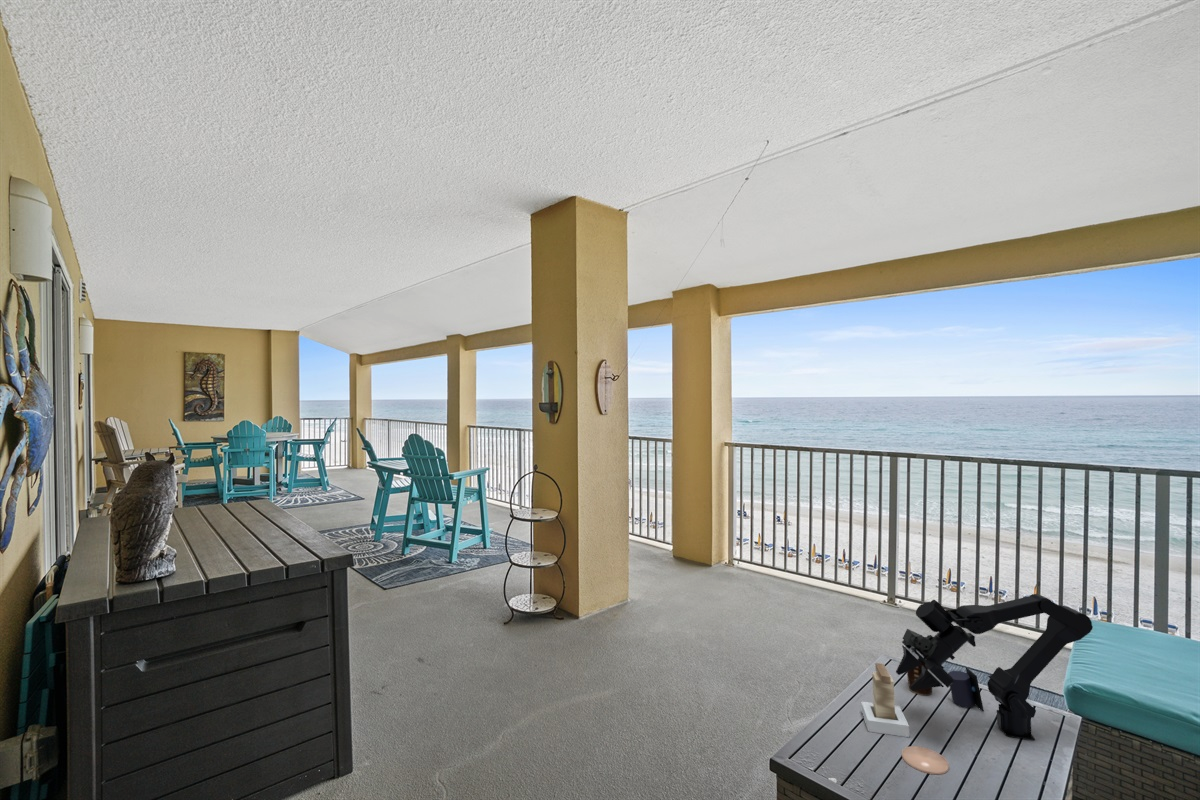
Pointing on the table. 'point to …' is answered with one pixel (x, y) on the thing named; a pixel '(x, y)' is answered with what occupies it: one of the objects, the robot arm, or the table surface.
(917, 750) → the peach flat disc
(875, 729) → the socket
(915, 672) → the coffee cup
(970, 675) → the speaker
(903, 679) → the table surface
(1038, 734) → the table surface
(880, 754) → the table surface
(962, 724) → the table surface
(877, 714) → the wooden block tower
